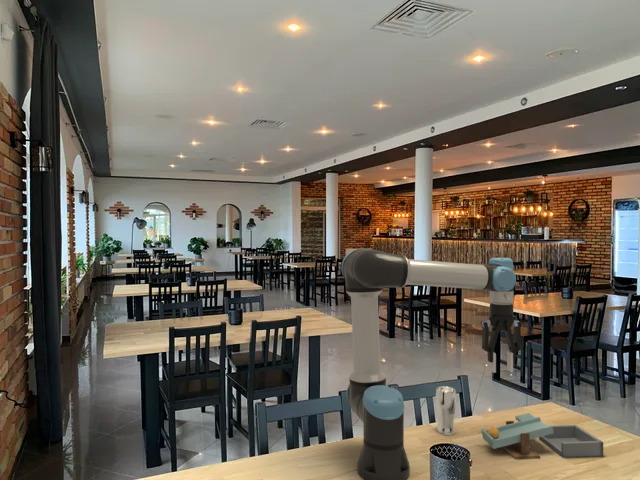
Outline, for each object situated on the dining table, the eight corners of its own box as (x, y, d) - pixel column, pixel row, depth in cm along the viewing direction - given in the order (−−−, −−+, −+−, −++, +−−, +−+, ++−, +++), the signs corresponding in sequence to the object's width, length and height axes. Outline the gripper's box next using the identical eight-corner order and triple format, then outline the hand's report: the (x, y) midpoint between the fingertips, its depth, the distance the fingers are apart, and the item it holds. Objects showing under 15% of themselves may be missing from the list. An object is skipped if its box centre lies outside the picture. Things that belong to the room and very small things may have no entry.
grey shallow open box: (563, 458, 148) (563, 443, 148) (539, 439, 162) (539, 426, 162) (603, 456, 149) (603, 442, 149) (575, 438, 163) (575, 424, 163)
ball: (492, 442, 152) (489, 431, 152) (488, 437, 155) (484, 427, 155) (502, 438, 152) (499, 427, 152) (497, 433, 156) (494, 423, 155)
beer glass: (433, 433, 167) (433, 390, 167) (438, 426, 174) (438, 385, 173) (453, 437, 164) (453, 393, 164) (458, 429, 170) (457, 387, 170)
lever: (494, 449, 149) (492, 440, 149) (474, 429, 164) (472, 421, 164) (554, 433, 151) (552, 424, 151) (529, 415, 166) (527, 407, 166)
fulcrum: (515, 459, 147) (515, 435, 147) (496, 441, 160) (496, 420, 160) (540, 458, 148) (540, 435, 148) (519, 440, 161) (519, 419, 161)
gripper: (479, 305, 159) (479, 375, 159) (533, 304, 160) (533, 373, 160) (470, 302, 166) (471, 369, 166) (521, 301, 168) (522, 367, 168)
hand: (501, 371), depth 163 cm, fingers open, 5 cm apart
